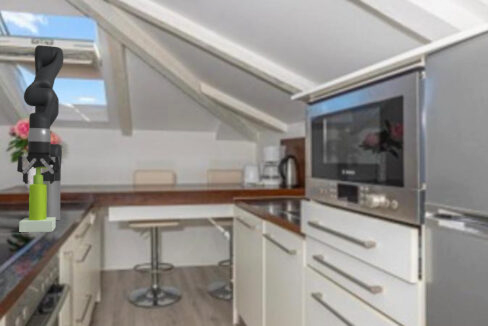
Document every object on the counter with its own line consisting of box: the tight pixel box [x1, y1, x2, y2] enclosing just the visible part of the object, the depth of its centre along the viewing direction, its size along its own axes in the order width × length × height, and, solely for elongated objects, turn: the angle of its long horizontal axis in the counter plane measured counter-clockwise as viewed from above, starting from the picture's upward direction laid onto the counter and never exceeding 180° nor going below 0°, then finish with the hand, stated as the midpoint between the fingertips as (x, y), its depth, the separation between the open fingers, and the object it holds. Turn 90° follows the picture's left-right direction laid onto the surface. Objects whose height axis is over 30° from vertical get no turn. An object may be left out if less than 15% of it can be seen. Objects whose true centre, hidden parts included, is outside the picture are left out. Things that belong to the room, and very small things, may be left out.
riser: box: [18, 217, 57, 233], centre depth 154 cm, size 10×11×4 cm
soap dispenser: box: [28, 167, 48, 220], centre depth 154 cm, size 6×7×20 cm
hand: (38, 183), depth 154 cm, fingers open, 8 cm apart
